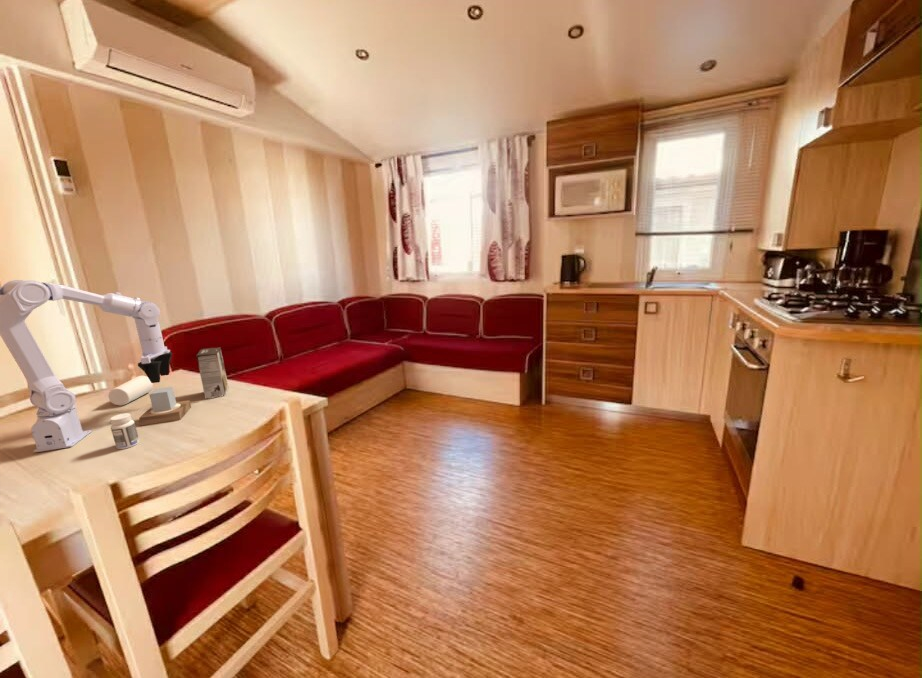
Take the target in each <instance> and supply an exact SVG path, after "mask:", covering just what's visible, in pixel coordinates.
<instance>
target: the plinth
mask: <svg viewBox="0 0 922 678" xmlns="http://www.w3.org/2000/svg"><path fill="white" fill-rule="evenodd" d="M176 404H177V405H176V406H175V407H174V408H173V409H172V410H167V411H160V412H154V411H153V407H152V406H151V407H149V408H148V409H147V410H146V411H145V412H144V413H143V414H142V415H140V416H139V418H138V419H139V423H140V426H146V425H147V426H149V425H154V424H160V423H168V422H174V421H181V420H182V419H183V417H185V415H186V414H187V413H188V412H189V411H190V409H192V404H191V400H190V399H189V400H182V401H180V400H179V401H176Z"/></svg>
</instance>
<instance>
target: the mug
mask: <svg viewBox="0 0 922 678" xmlns="http://www.w3.org/2000/svg"><path fill="white" fill-rule="evenodd" d="M153 389H154V383H151V381H150V380H149V378H148V376H147V375H138V376H136V377H133V378H132V379H130V380H128V381H126V382H124V383H122V384H120V385H119V386H116V387H114V388H112V389H111V390H110V391H109V393H108V399H109V401H110V402H111V404H113V405H116V406H125V405H127V404H129V403H131V402H133V401H135V400H136V399H139V398H141V397H142V396H144V395H145V394H146V395H147V394H148V393H151V392H152V391H153Z"/></svg>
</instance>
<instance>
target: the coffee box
mask: <svg viewBox="0 0 922 678" xmlns="http://www.w3.org/2000/svg"><path fill="white" fill-rule="evenodd" d="M196 359H197V365H198V370H199V375H200V380H201V384H202V385H201V386H202V388H203V395H204V399H205V400H207V399H206V398H208V399H213V398H212V397H215V398H218V397H217V396H221V397H223V396H222V395H225V394H226V395H227V393H228V391H229V382H228V378H227V373H226V368H225V362H224V357H223V353H222V348H221V346H219V347H209V348H208V347H207V348H202V349H200V350H199V351H198V353H197V354H196ZM226 392H227V393H226Z"/></svg>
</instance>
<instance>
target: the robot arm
mask: <svg viewBox="0 0 922 678" xmlns="http://www.w3.org/2000/svg"><path fill="white" fill-rule="evenodd" d="M59 300H69V301H73V302H78V303H83V304H88V305H93V306H98V307H99V308H100V309H101V311H103V312H105V313H109V314H113V315H119V316H123V317H129V318H130V317H131V318H133V319H134V322H135V326H136V330H137V335H138V338H139V339H138V340H139V343H140V348H141V351H142V353H141V356H140V362H138V363H137V367H138V368H139V369H141V370H142V371H143V372H144V374H145V376H147V377H148V378H149V380H150V381H151V383H153V384H157V383H160V382H161V376H163V377H165V376H169V375H170V371H171V370H170V369H171V368H170V365H171V359H172V357H173V352H171V349H168V346H165V344H164V339H163V334H162V333H163V332H162V329H161V325H160V321H159V317H160V315H161V308H159V306H158V305H157V304H156V303H155V302H152V301H144V300H143V301H142V300H141V298H139V297H134V298H133V297H130V296H125V295H122V293H121V292H117V291H114V292H113V293H112V292H108V293H105V294H99V293H94V292H90V291H86V290H84V289H78V288H75V287H72V286H67V285H62V284H58V283H51V282H43V281H42V282H40V281H36V280H32V279H31V280H22V279H14V280H9V281H7V282H6V283H4V284H3V285H2V286H1V287H0V338H1V339H2V341H3V342H4V344H5V345H6V348H7V349H8V352H9V353H10V354H11V356H12V358H13V359H14V361H15V362H16V364H17V366H18V367H19V369H20V371H21V372H22V375H23V376H24V378H25V380H26V381H27V388H28V390H29V392H30V393H29V401H30V403H31V404H32V405H33V406H35V407H37V408H38V409H37V411H36V417H37V419H36V421H35V423H34V424H33V425H32V427H31V435H32V437H33V440H34V444H35V445H36V448H35V449H34V450H33V453H40V452H46V451H55V450H59V449H65V448H71V447H73V446H75V445H76V444H77V443H79V442H80V441H81V440H83V439H84V438H85V437H87V436H88V435H89V434H90V433H92V430H90V429H88V430H83V427H82V425H81V421H80V418H79V414H78V411H77V407H76V403H77V402H76V401H77V398H76V395H75V393H74V392H72V391H71V390H69V389H67V388H66V387H65V386H64V384H63V382H61V380H60V379H59V378H58V377H57V376H56V375H55V372H54V371H53V370H52V368H51V366H50V364H49V363H48V359H46V356H45V355H44V353H43V352H42V350H41V348H40V346H39V345H38V343H37V341H36V339H35V337H34V336H33V334H32V332H31V329H29V327H28V325H27V323H26V321H25V320H26V319H27V318H28V317H29V315H30V314H32V312H33V311H34V310H36V309H37V308H39V307H41V306H43V305H44V304H45V303H47V302H48V301H53V302H54V301H59Z"/></svg>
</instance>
